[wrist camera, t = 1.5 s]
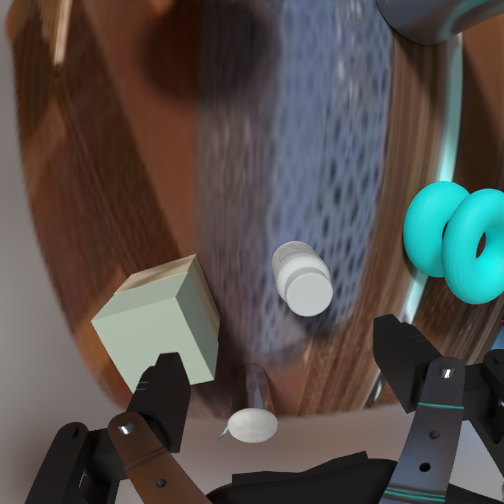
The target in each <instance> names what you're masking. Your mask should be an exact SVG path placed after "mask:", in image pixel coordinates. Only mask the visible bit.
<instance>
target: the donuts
mask: <svg viewBox="0 0 504 504" xmlns="http://www.w3.org/2000/svg"><path fill="white" fill-rule="evenodd" d="M448 221H449V222H448ZM447 222H448V224H447V227H446V230H445V233H444V237H443V241H442V232H443V229H444V226H445V224H446V223H447ZM484 232H485V234H486V244H485V248H484V250H483V252H482V254H481V255H480V256H479V257H478V258H477V259H476V250H477V246H478V243H479V240H480V238H481V236H482V234H483V233H484ZM403 240H404V246H405V250H406V253H407V255H408V257H409V259H410V261H411V262H412V264H413V265H414V266H415V267H416V268H417V269H418V270H419V271H421V272H422V273H424V274H426V275H429V276H432V277H445V280H446V282H447V285H448V287H449V288H450V290H451V291H452V292H453V294H454V295H455V296H456V297H458V298H459V299H460V300H462V301H464V302H466V303H470V304H483V303H487V302H489V301H491V300H493V299H495V298H496V297H497V296H499V295H500V294H501V293H502V292H503V291H504V193H503V192H501V191H499V190H495V189H482V190H478V191H476V192H474V193H472V194H469V193H468V191H467V190H465V189H464V188H463V187H462V186H460V185H458V184H456V183H453V182H448V181H439V182H435V183H432V184H430V185H428V186H426V187H425V188H423V189H422V190H421V191H420V192H419V193H418V194H417V195H416V196H415V198H414V199H413V201H412V202H411V204H410V206H409V208H408V210H407V213H406V216H405V220H404V226H403Z"/></svg>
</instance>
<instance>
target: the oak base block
mask: <svg viewBox="0 0 504 504" xmlns="http://www.w3.org/2000/svg"><path fill="white" fill-rule="evenodd" d="M184 272H189V274H190V277H191V279H192V282H193V284H194V287H195V289H196V292H197V294H198V296H199V299H200V301H201V304H202V306H203V309H204V311H205V313H206V316H207V318H208V320H209V323H210V325H211V327H212V330H213V332H214V334H215V337H216V339H217V340H218V333H219V326H220V319H221V318H220V315H219V313H218V310H217V308H216V305H215V303H214V300H213V298H212V295H211V292H210V290H209V287H208V285H207V282H206V279H205V277H204V274H203V272H202V269H201V266H200V264H199V261H198V258H197V256H196V254H194V255H191V256H188V257H185V258H182V259H179V260H175V261H172V262H169V263H166V264H163V265H160V266H157V267H154V268H151V269H147V270H144V271H141V272H138V273H135V274H132V275H131V276H130V277H129V278H128V279H127V280H126V281H125V282H124V283H123V284H122V285H121V286H120V288H119V289H118V290H117V291H116V292H115V293H114V295H115V294H117V293H120V292H124V291H127V290H130V289H133V288H136V287H140V286H143V285H146V284H149V283H152V282H156V281H159V280H162V279H165V278H168V277H172V276H175V275H178V274H181V273H184Z"/></svg>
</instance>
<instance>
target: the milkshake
mask: <svg viewBox="0 0 504 504" xmlns="http://www.w3.org/2000/svg"><path fill="white" fill-rule="evenodd" d="M277 428H278V421H277V417H276V413H275V410H274V406H273V403H272V399H271V394H270V390H269V385H268V381H267V376H266V373H265V371H264V369H263V367H261V366H259V365H257V364H245V365H244V366H242V367H240V368H239V369H238V372H237V375H236V380H235V387H234V393H233V400H232V406H231V410H230V415H229V421H228V426H227V427H226V429H225V430H224V432H223V433H222V435H221V436H220V437H219V439H218V443H219V442H220V440H221V439H222V437H223V436H224V434H225V433H226V431H227V430H228V429H229V431H230V433H231V434H232V435H233V436H234V437H235V438H237V439H239V440H241V441H244V442H251V443H254V442H263V441H266V440H268V439H269V438H270V437H271V436H272V435H274V433H275V432H276V431H277Z"/></svg>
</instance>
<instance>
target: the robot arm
mask: <svg viewBox="0 0 504 504" xmlns="http://www.w3.org/2000/svg"><path fill="white" fill-rule="evenodd" d="M376 1H377V4H378V7H379V10H380V11H381V13H382V15H383V16H384V18H385V19H386V20H387V22H388V23H389V24H390V25H391V26H392V27H393V28H394V29H395V30H396V31H397V32H399V33H400V34H401V35H403V36H404V37H406V38H407V39H409V40H411V41H413V42H416V43H418V44H422V45H435V44H439V43H440V42H442V41H444V40H446V39H448V38H450V37H452V36H454V35H456V34H458V33H460V32H462V31H464V30H467V29H469V28H471V27H473V26H475V25H477V24H479V23H481V22H483V21H486V20H488V19H490V18H492V17H494V16H497V15H499V14H501V13H504V0H376ZM373 354H374V358H375V361H376V363H377V365H378V367H379V368H380V370H381V372H382V373H383V375H384V376H385V378H386V380H387V381H388V383H389V385H390V386H391V388H392V390H393V391H394V393H395V395H396V396H397V398H398V400H399V401H400V403H401V405H402V407H403V408H404V410H405V412H406V413H407V414H408V413H410V412H413V411H416V413H415V416H414V419H413V422H412V425H411V428H410V431H409V434H408V437H407V440H406V443H405V445H404V448H403V451H402V453H401V456H400V458H399V461H398V462H397V461H393V460H389V459H374V458H373V459H368V457H367V454H366V451H362V452H359V453H355V454H352V455H348V456H343V457H339V458H335V459H332V460H330V461H328V462H325V463H323V464H321V465H319V466H316V467H314V468H312V469H309V470H307V471H304V472H299V473H293V472H292V473H291V472H272V471H261V472H252V473H241V474H232V483H230V484H227V485H224V486H221V487H219V488H217V489H215V490H213V491H211V492H210V493H208V494H206V495H204V494H203V492H202V491H201V490H200V489H199V488H198V487H197V486H196V485H195V483H194V482H193V481H192V480H191V479H190V477H189V476H188V475H187V474H186V473H185V471H184V470H183V469H182V468H181V466H180V465H179V464H178V463H177V461H176V460H175V459H174V458H173V456H172V455H171V454H170V453H179V451H180V446H181V441H182V436H183V431H184V425H185V420H186V415H187V410H188V405H189V401H190V396H191V387H190V382H189V379H188V376H187V373H186V370H185V368H184V365H183V362H182V359H181V356H180V354H179V353H178V352H170V353H161V354H159V356H158V359H157V361H156V364H155V366H149V367H148V368H147V369H146V370H145V371H144V372H143V373H142V375H141V378H140V380H139V383H138V384H137V387H136V390H135V391H134V394H133V396H132V398H131V401H130V403H129V406H128V408H127V410H126V412H124V413H121V414H118V415H116V416H115V417H114V418H112V419H111V421H110V422H109V424H108V427H107V428H104V429H100V430H94V431H89V430H88V429H87V427H86V426H85V425H84V424H83V423H80V422H72V423H68V424H66V425H64V426H63V427H62V428H61V429H60V430H59V431H58V433H57V434H56V436H55V438H54V440H53V442H52V444H51V446H50V448H49V450H48V452H47V455H46V457H45V459H44V461H43V463H42V465H41V467H40V470H39V472H38V474H37V476H36V478H35V480H34V483H33V485H32V487H31V490H30V492H29V495H28V497H27V499H26V501H25V504H115V499H116V495H117V491H118V487H119V482H120V480H125V479H130V481H131V482H132V484H133V486H134V488H135V489H136V491H137V493H138V495H139V496H140V498H141V500H142V501H143V503H144V504H504V483H503V485H502V496H503V498H502V502H501V501H499V500H496V499H492V498H489V497H486V496H483V495H480V494H477V493H474V492H471V491H469V490H466V489H463V488H460V487H458V486H455V485H453V484H450V483H449V480H450V476H451V472H452V468H453V464H454V459H455V455H456V451H457V446H458V441H459V436H460V430H461V424H462V421H465V420H469V421H470V422H471V424H472V426H473V427H474V429H475V430H476V432H477V433H478V435H479V437H480V438H481V440H482V442H483V443H484V445H485V447H486V448H487V450H488V452H489V453H490V455H491V457H492V458H493V460H494V461H495V463H496V465H497V467H498V469H499V471H500V472H501V474H502V476H503V477H504V407H503V405H502V404H501V403H502V401H503V403H504V350H503V349H494V350H491V351H489V352H487V353H486V354H485V356H484V360H483V363H480V364H474V365H467V366H465V365H464V364H463V362H462V361H460V360H459V359H457V358H454V357H449V356H444V357H443V356H442V355H441V354H440V353H439V352H438V351H437V349H436V348H435V347H434V346H433V345H432V344H431V343H430V342H429V341H428V340H426V338H425V337H424V336H423V334H422V335H421V332H420V331H419V330H418V329H417V328H416V327H415V326H413V325H411V324H408V323H406V322H403V323H400V321H399V320H398V319H397V318H396V317H395V316H394V315H393V314H388V315H384V316H380V317H376V318H375V319H374V323H373ZM83 474H84V476H83V479H82V482H81V485H80V488H79V484H80V481H81V478H82V475H83Z"/></svg>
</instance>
